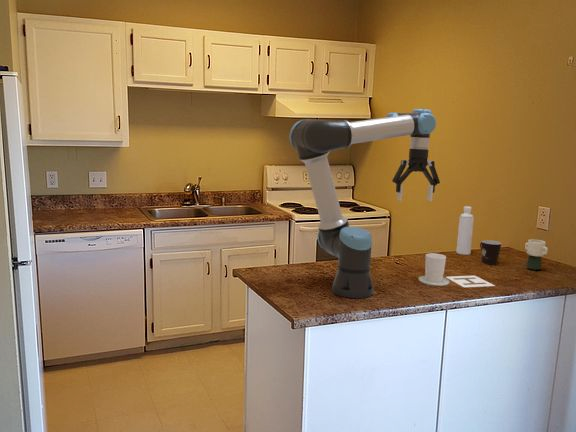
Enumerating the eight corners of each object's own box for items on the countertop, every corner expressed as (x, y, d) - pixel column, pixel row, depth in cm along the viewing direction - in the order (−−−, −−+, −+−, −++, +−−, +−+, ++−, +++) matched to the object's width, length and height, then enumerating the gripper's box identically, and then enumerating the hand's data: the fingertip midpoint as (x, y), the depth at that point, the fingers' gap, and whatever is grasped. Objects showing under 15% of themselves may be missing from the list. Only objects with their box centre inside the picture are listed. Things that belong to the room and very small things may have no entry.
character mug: (549, 271, 228) (553, 243, 226) (539, 273, 225) (543, 244, 223) (527, 265, 238) (531, 237, 236) (517, 266, 234) (521, 239, 232)
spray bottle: (455, 250, 261) (459, 202, 256) (468, 251, 260) (473, 203, 256) (457, 254, 254) (462, 204, 250) (471, 255, 253) (476, 205, 249)
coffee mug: (500, 266, 234) (503, 245, 232) (481, 264, 236) (483, 243, 234) (496, 260, 245) (498, 239, 244) (477, 258, 247) (479, 238, 245)
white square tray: (464, 287, 201) (464, 287, 201) (445, 277, 214) (445, 276, 214) (495, 286, 204) (495, 285, 204) (474, 275, 218) (474, 275, 217)
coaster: (427, 286, 200) (427, 285, 200) (413, 277, 212) (413, 276, 212) (455, 285, 203) (455, 283, 203) (439, 276, 215) (439, 275, 215)
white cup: (420, 279, 207) (422, 255, 205) (429, 275, 213) (431, 252, 211) (438, 284, 202) (440, 259, 200) (447, 280, 208) (449, 256, 206)
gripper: (441, 148, 213) (436, 199, 217) (386, 146, 207) (382, 199, 211) (451, 149, 206) (446, 202, 210) (394, 147, 200) (390, 201, 204)
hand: (414, 200), depth 210 cm, fingers open, 13 cm apart
